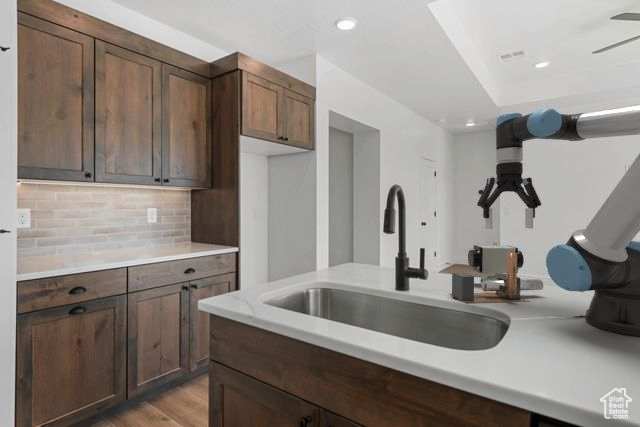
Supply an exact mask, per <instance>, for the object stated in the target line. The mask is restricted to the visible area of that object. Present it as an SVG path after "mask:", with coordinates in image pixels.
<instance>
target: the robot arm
mask: <svg viewBox="0 0 640 427" xmlns="http://www.w3.org/2000/svg"><path fill="white" fill-rule="evenodd" d="M495 124H496V126H495V150H496V151H495V153H496V154H495V155H496V156H495V161H496V163H497V164H496V165H495V174H496V178H495V177H494V176H492V177H487V179H486V184H485V186H484V189H483V190H482V194H481V196H480V197H479V200H478V201H477V203H476V204H477V205H476V206H477V207H480V208H482V212H483V213H482V217H483V219H485V229H488V230H489V229H490V230H493V208H492V205H493V204H494V203H495V202H496V201H497V199H498V198H499V196H501V194H502V193H503V192H504V193H505V192H510V193H511V192H514V193H515V194H517V196H518V197H519V199H520V200H521V201H522V202H523V203H524V205H526V208H524V209H525V210H524V211H525V212H524V217H525V218H524V221H525V222H524V226H525V227H524V228H525V229H534V219H535V217H536V209H537V208H538V207H541V206H542V202H541V199H540V198H539V196H538V193H537V192H536V189H535V186H534V185H533V180H532V179H533V178H532V177H524V178H523V176H522V175H523V173H524V172H523V171H524V170H523V168H524V167H523V165H524V163H522V161H523V160H524V158H523V156H524V152H523V151H524V149H523V147H524V146H523V143H524V142H526V141H530V140H535V139H536V140H537V139H538V140H553V141H554V140H559V141H560V140H561V141H569V142H580V141H584V140H587V139H588V140H589V139H597V138H600V139H601V138H610V137H625V136H637V135H640V103H638V104H630V105H625V106H620V107H619V106H617V107H612V108H605V109H599V110H594V111H592V110H591V111H586V112H580V113H573V114H572V113H571V114H565V113H564V114H563V113H560V112H558V111H557V110H556V109H554V108H550V107H549V108H545V109H540V110H535V111H534V112H532V113H528V114H526V115H523V114H522V113H521V112H508V113H507V112H506V113H502V114H501V115H499V116H497V118H496V122H495ZM495 185H497V186H496V187H495V188H494V186H495ZM522 185H523V186H522ZM493 188H494V191H493V192H492V190H493ZM491 192H492V193H491ZM638 233H640V152H639V154H638V155H637V156H636V157H635V159H634V160H633V162H632V163H631V165H630V166H629V167H628V169H627V171H625V173H624V175H623V176H622V177H621V178H620V180H619V181H618V183H617V184H616V186H615V187H614V188H613V189H612V191H611V192H610V194H609V195H608V197H607V198H606V199H605V201H604V202H603V203H602V205H601V207H600V208H599V209H598V211H597V212H596V213H595V215H594V216H593V217H592V219H591V221H589V223H588V225H586V228H582V229H577V230H575V231H574V232H573V233H572V234H571V236H570V237H569V239H568V240H567V242H566V243H562V244H557V245H555V246H553V247H552V248H551V249H549V251H548V252H547V255H546V258H545V267H546V268H547V273H548V275H549V277H550V279H551V280H552V282H553V283H555V284H556V286H558V287H559V288H560V289H563V290H565V291H568V292H579V293H580V292H581V293H584V292H590V291H594V293H593V296H592V298H591V301H590V304H589V307H588V309H587V310H586V312H585V321H586V323H588V325H591V326H593V327H596V328H598V329H601V330H604V331H608V332H611V333H616V334H622V335H628V336H634V337H640V241H635V240H633V239H634V238H635V237H636V236H637V235H638Z"/></svg>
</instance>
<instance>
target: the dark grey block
mask: <svg viewBox="0 0 640 427" xmlns="http://www.w3.org/2000/svg"><path fill="white" fill-rule="evenodd" d="M451 275H452V276H451V294H452V296H451V297H453V296H454V297H453V298H454V299H457V300H459V301H460V300H461V302H462V301H474V293H475V276H473V275H471V274H468V273H466V272H464V271H463V272H451Z"/></svg>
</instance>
